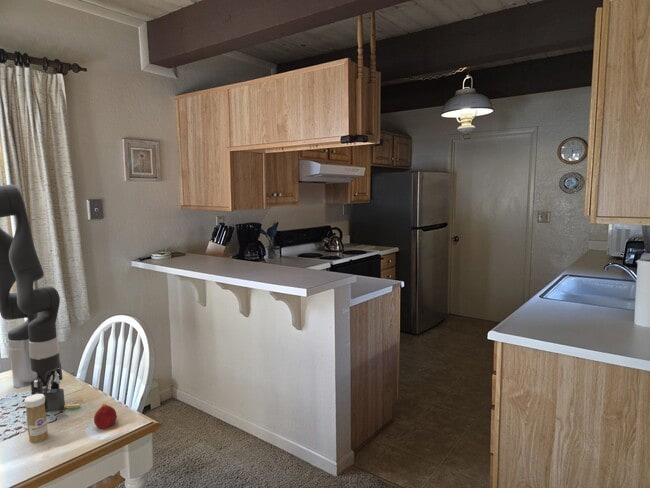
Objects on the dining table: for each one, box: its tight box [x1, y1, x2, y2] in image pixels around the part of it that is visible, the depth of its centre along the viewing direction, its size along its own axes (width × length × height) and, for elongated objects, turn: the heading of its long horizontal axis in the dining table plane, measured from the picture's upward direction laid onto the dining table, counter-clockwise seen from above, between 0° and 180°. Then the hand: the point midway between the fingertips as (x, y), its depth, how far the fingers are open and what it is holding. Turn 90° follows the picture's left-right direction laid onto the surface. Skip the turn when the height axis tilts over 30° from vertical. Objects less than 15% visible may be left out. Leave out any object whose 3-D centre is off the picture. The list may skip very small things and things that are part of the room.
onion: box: [93, 402, 118, 430], centre depth 124 cm, size 6×6×8 cm
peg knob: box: [43, 388, 81, 413], centre depth 133 cm, size 13×2×6 cm, turn 98°
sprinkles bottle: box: [24, 394, 49, 444], centre depth 117 cm, size 5×5×13 cm
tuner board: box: [54, 398, 85, 420], centre depth 133 cm, size 16×15×2 cm
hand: (49, 403), depth 133 cm, fingers open, 8 cm apart
